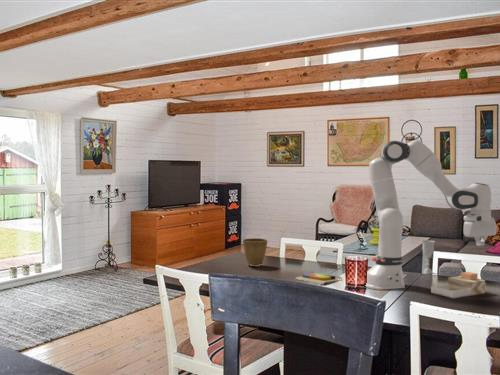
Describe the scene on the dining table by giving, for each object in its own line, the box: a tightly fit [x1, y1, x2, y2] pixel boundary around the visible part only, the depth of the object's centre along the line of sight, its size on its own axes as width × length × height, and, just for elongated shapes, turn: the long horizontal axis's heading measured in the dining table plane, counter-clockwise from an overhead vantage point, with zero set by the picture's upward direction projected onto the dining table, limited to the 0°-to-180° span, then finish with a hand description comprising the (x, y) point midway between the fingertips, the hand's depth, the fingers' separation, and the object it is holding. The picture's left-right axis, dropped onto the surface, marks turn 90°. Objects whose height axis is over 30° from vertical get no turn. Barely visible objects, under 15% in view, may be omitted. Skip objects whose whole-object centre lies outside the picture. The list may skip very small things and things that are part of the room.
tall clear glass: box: [421, 239, 436, 275], centre depth 267 cm, size 7×7×18 cm
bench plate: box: [447, 275, 486, 296], centre depth 222 cm, size 10×12×6 cm
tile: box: [460, 271, 478, 280], centre depth 223 cm, size 5×5×2 cm
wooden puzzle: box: [295, 272, 343, 286], centre depth 246 cm, size 18×19×4 cm
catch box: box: [430, 283, 472, 300], centre depth 216 cm, size 12×12×3 cm
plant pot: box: [242, 237, 268, 265], centre depth 285 cm, size 15×15×16 cm
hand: (480, 245), depth 226 cm, fingers closed
